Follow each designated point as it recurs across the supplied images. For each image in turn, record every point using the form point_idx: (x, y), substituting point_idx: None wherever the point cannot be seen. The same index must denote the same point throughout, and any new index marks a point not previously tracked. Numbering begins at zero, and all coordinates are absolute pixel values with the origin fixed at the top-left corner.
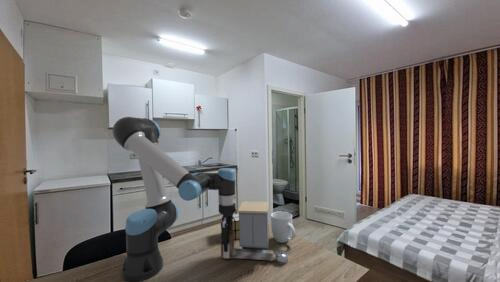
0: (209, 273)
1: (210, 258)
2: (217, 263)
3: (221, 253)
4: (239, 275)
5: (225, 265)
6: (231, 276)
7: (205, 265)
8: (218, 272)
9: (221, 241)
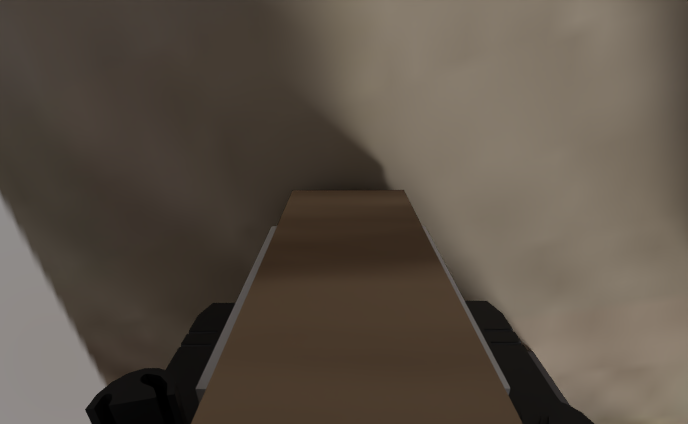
0: (27, 123)
1: (304, 31)
2: (222, 159)
3: (282, 218)
4: (121, 372)
5: (211, 248)
6: (84, 325)
7: (140, 13)
8: (85, 211)
9: (220, 371)
